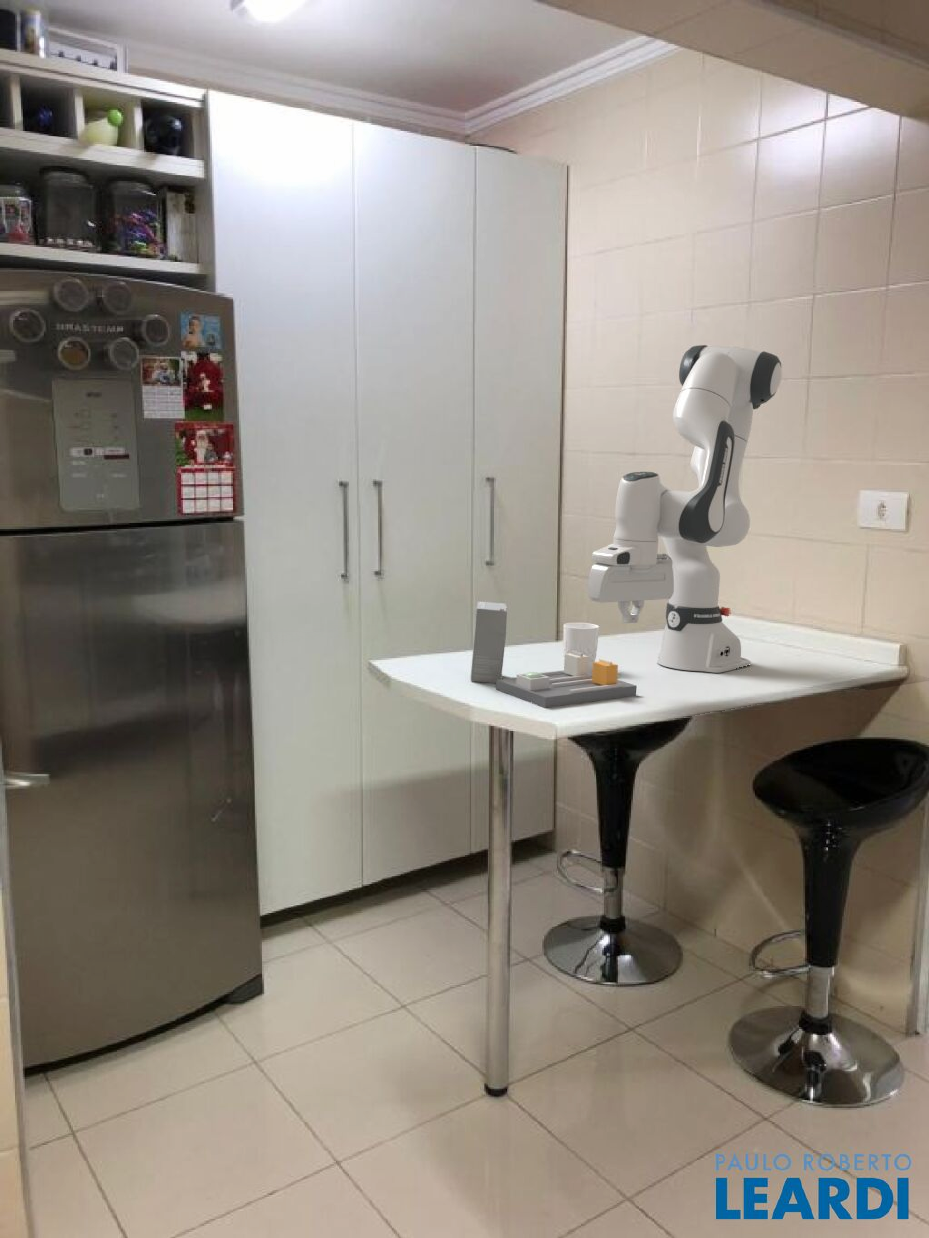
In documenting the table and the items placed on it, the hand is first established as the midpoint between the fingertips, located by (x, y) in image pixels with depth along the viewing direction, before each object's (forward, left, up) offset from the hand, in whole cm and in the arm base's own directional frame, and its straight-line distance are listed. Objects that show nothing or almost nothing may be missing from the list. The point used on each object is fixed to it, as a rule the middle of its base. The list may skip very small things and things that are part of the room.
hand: (629, 622), depth 201 cm
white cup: (-5, -21, -15) cm, 26 cm away
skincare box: (+19, -22, -14) cm, 32 cm away
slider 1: (+6, -9, -12) cm, 16 cm away
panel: (+12, -5, -14) cm, 19 cm away
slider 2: (+6, 0, -12) cm, 14 cm away
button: (+20, -5, -12) cm, 24 cm away
